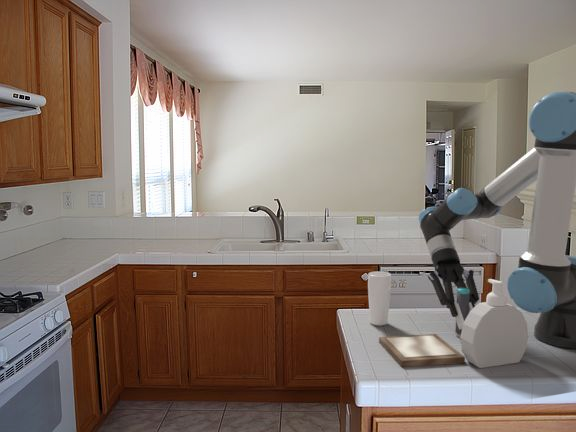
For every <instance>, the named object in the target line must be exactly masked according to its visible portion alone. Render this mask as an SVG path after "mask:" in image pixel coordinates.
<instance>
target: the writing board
mask: <svg viewBox="0 0 576 432" xmlns="http://www.w3.org/2000/svg"><path fill="white" fill-rule="evenodd" d="M378 344H380V346H382V348H383V349H384V350H385V351H386V352H387V353H388V355H390V356H391V357H392V359H394V361H395V362H396V363H397V364H398V365H399V366H400V367H401V368H407V367H421V366H422V367H423V366H436V365H437V366H439V365H452V364H453V365H454V364H455V365H456V364H465V360H466V358H465V356H464V354H462V353H460V351H458V350H457V349H455V348H454V347H453V346H452V345H450V344H449V343H448V342H447V341H445V340H444V339H443V338H441V337H440V336H439V335H438V334H436V333H431V334H430V333H429V334H411V335H391V336H379V337H378Z"/></svg>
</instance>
